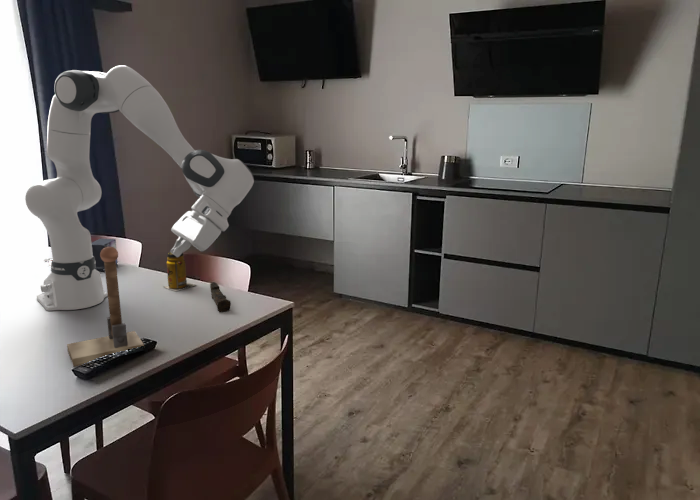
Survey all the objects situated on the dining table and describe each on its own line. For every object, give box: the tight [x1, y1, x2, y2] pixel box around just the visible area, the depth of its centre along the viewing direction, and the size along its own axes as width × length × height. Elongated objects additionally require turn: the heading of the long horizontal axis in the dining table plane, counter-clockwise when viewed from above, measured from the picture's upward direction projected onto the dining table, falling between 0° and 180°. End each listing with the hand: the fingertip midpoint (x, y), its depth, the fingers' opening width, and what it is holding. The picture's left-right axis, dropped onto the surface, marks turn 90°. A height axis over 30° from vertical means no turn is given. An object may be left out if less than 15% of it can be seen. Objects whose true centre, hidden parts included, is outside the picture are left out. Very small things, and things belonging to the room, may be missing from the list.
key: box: [43, 257, 53, 266], centre depth 217 cm, size 12×1×4 cm
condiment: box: [164, 251, 196, 292], centre depth 188 cm, size 7×8×12 cm
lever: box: [100, 246, 123, 336], centre depth 136 cm, size 4×4×24 cm
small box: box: [91, 238, 119, 272], centre depth 209 cm, size 11×6×10 cm, turn 179°
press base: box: [66, 316, 145, 368], centre depth 137 cm, size 16×10×8 cm, turn 123°
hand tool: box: [209, 282, 232, 313], centre depth 173 cm, size 19×4×5 cm, turn 21°
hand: (173, 254), depth 142 cm, fingers closed
